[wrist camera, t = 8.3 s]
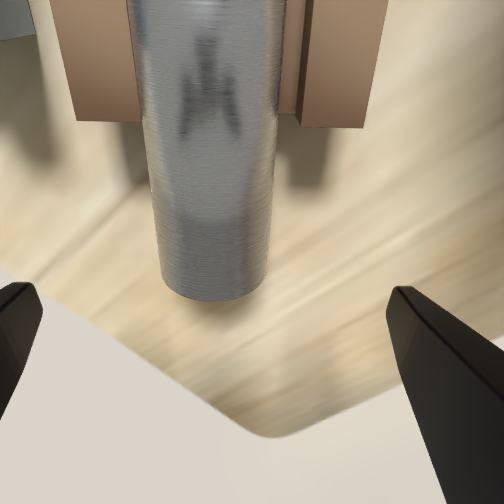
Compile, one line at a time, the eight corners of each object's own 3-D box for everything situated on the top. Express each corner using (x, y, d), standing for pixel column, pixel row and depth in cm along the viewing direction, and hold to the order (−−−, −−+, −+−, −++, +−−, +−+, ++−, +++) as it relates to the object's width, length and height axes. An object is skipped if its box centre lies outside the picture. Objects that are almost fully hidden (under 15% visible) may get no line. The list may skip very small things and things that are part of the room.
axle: (130, -310, 8) (14, -512, 5) (313, -313, 8) (320, -530, 5) (177, 234, 16) (145, 294, 13) (270, 242, 16) (262, 307, 13)
